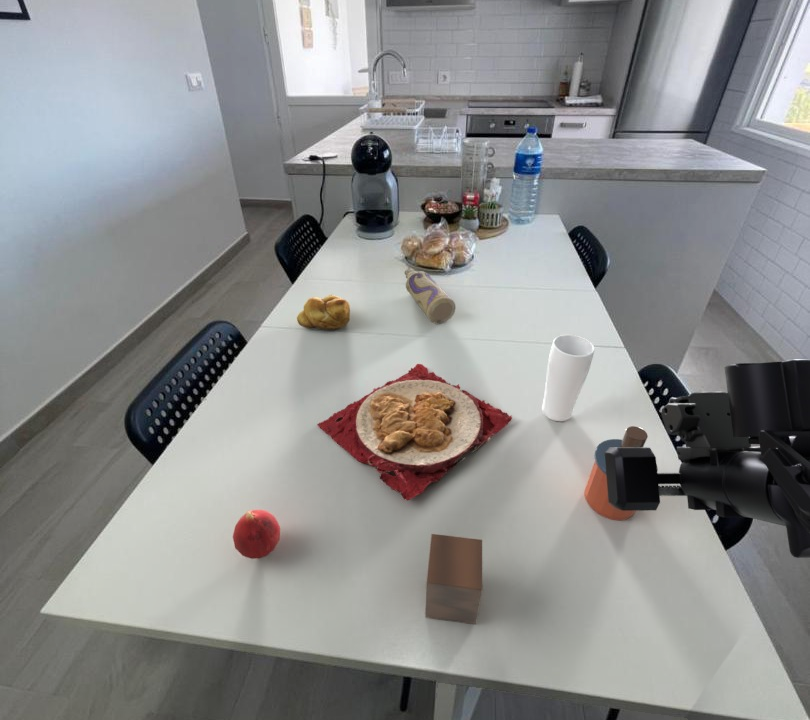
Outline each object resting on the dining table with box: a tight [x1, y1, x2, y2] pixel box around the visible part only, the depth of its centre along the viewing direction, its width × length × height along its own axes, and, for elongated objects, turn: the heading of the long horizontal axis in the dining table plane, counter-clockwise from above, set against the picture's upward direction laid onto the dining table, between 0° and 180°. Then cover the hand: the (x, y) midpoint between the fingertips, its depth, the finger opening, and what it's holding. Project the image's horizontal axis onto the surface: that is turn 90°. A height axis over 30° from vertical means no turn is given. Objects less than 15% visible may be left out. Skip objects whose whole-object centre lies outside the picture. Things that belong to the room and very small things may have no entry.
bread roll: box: [296, 294, 351, 331], centre depth 106 cm, size 13×10×8 cm
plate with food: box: [316, 363, 513, 501], centre depth 79 cm, size 24×26×4 cm
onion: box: [232, 509, 281, 560], centre depth 58 cm, size 6×6×8 cm
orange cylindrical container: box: [584, 461, 636, 521], centre depth 64 cm, size 7×7×8 cm
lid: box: [593, 425, 659, 475], centre depth 60 cm, size 8×8×6 cm
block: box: [424, 533, 483, 625], centre depth 53 cm, size 6×6×8 cm
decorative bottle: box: [404, 267, 457, 324], centre depth 116 cm, size 26×8×7 cm, turn 18°
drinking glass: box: [541, 334, 596, 422], centre depth 78 cm, size 7×7×15 cm
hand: (656, 471), depth 54 cm, fingers open, 9 cm apart
